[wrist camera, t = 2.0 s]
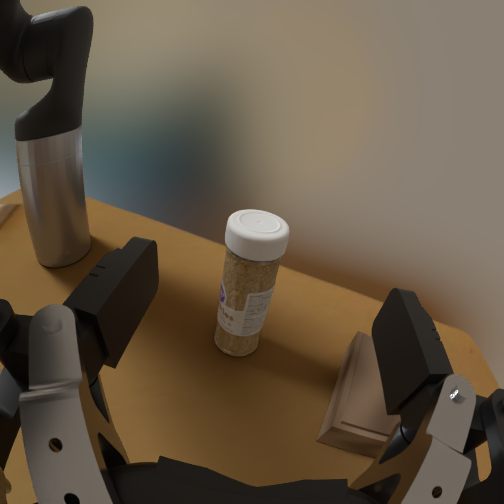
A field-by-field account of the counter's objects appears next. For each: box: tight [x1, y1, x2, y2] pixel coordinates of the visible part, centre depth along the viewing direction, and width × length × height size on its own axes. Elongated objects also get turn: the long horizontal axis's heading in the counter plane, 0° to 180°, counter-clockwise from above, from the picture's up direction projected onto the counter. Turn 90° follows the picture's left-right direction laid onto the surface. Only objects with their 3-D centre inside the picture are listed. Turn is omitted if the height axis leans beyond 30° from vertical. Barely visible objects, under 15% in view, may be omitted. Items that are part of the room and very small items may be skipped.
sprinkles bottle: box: [214, 210, 290, 356], centre depth 23 cm, size 5×5×13 cm
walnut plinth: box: [316, 331, 401, 458], centre depth 21 cm, size 11×11×4 cm
